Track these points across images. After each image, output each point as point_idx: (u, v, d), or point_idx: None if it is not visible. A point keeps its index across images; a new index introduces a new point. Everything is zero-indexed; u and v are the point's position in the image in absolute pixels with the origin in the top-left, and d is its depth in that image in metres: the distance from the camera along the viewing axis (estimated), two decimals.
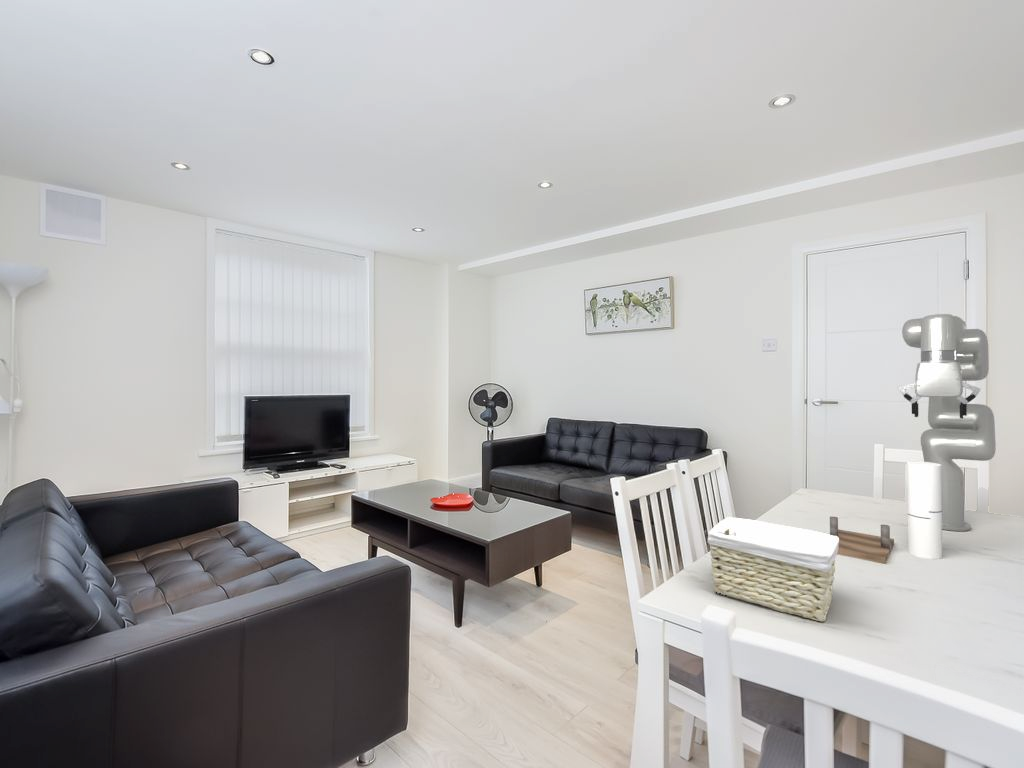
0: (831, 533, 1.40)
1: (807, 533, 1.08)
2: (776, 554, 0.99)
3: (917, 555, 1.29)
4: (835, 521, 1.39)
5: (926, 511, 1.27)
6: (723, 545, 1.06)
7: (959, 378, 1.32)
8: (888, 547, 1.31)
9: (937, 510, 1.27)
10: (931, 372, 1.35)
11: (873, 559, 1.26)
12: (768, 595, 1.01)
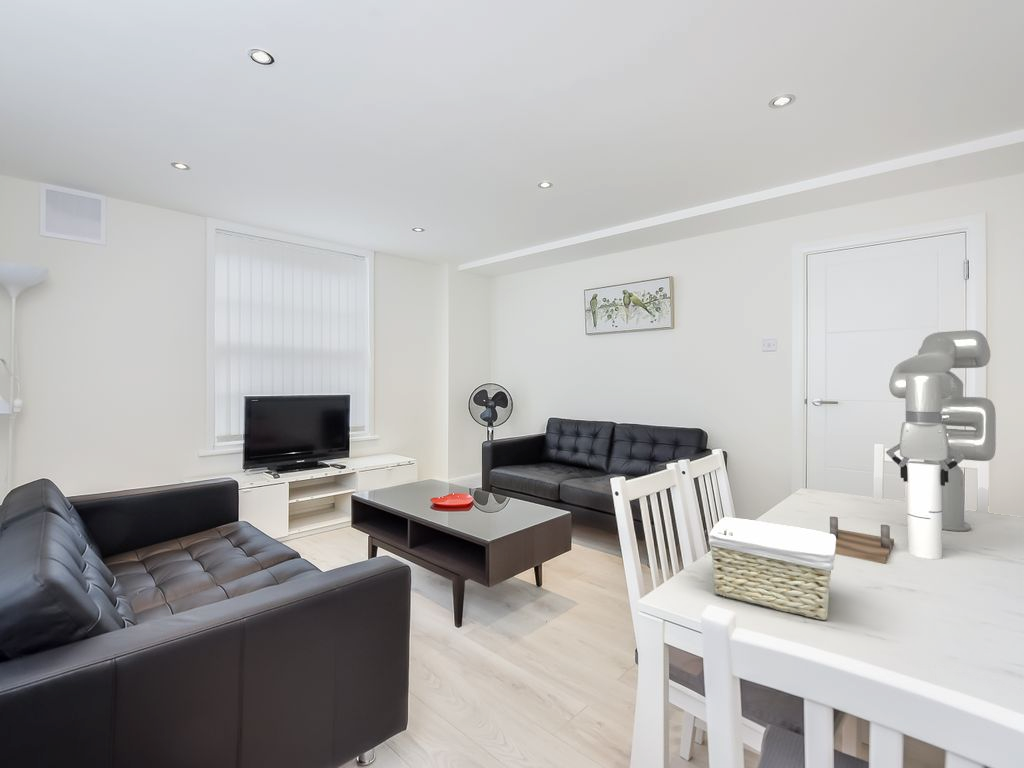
0: (831, 533, 1.40)
1: (804, 532, 1.09)
2: (779, 554, 0.99)
3: (917, 555, 1.29)
4: (835, 521, 1.39)
5: (926, 511, 1.27)
6: (725, 546, 1.05)
7: (945, 442, 1.25)
8: (888, 547, 1.31)
9: (937, 510, 1.27)
10: (916, 434, 1.29)
11: (873, 559, 1.26)
12: (770, 595, 1.01)
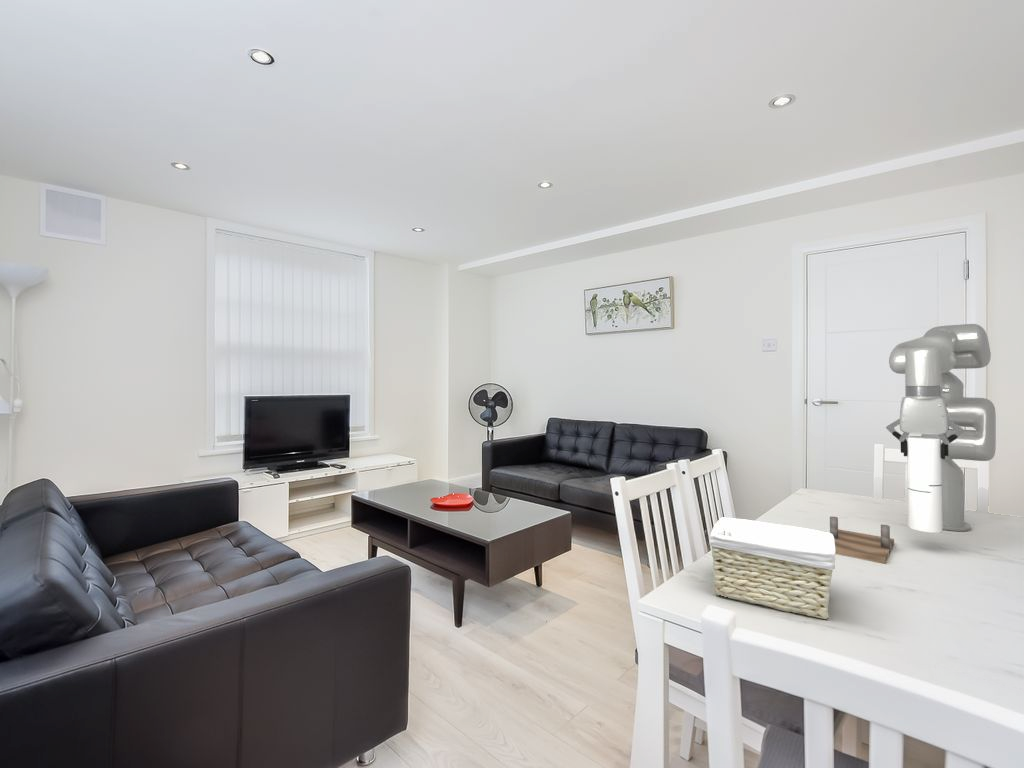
0: (831, 533, 1.40)
1: (801, 531, 1.09)
2: (781, 554, 0.99)
3: (917, 529, 1.29)
4: (835, 521, 1.39)
5: (926, 485, 1.28)
6: (726, 547, 1.04)
7: (945, 415, 1.26)
8: (888, 547, 1.31)
9: (937, 484, 1.27)
10: (916, 408, 1.29)
11: (873, 559, 1.26)
12: (772, 595, 1.01)
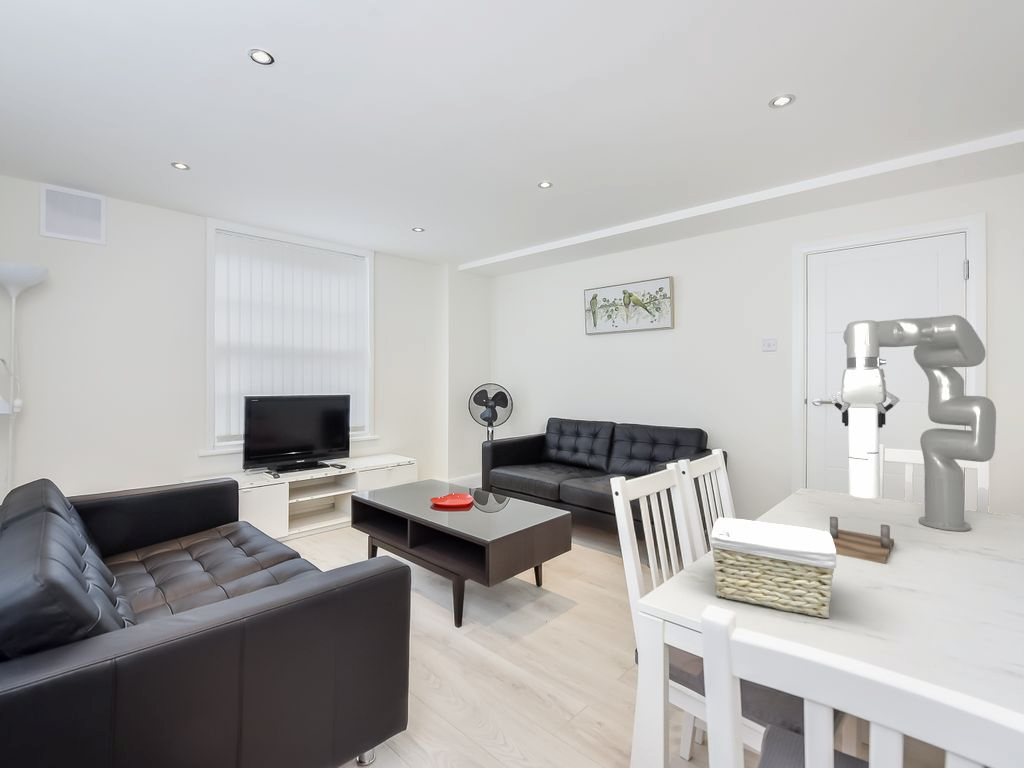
0: (831, 533, 1.40)
1: (799, 530, 1.10)
2: (783, 554, 0.99)
3: (856, 495, 1.34)
4: (835, 521, 1.39)
5: (864, 452, 1.32)
6: (727, 548, 1.04)
7: (882, 385, 1.31)
8: (888, 547, 1.31)
9: (874, 451, 1.32)
10: (855, 379, 1.34)
11: (873, 559, 1.26)
12: (773, 595, 1.01)
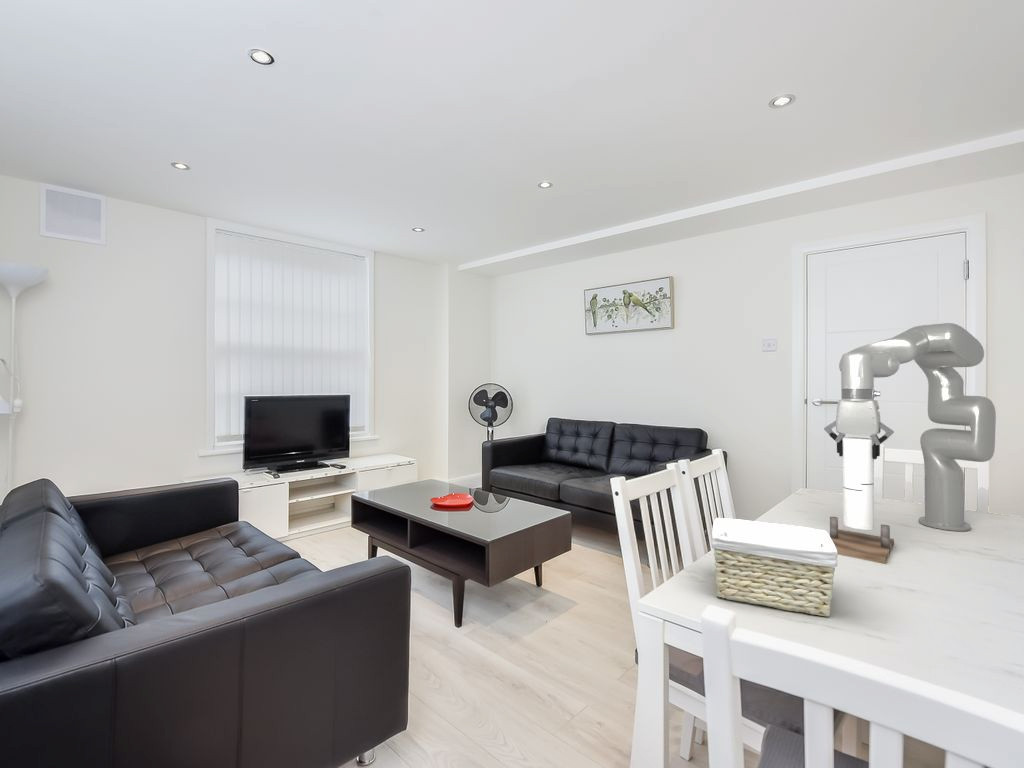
0: (831, 533, 1.40)
1: (796, 529, 1.11)
2: (785, 554, 0.99)
3: (850, 526, 1.35)
4: (835, 521, 1.39)
5: (858, 483, 1.33)
6: (729, 548, 1.03)
7: (876, 417, 1.31)
8: (888, 547, 1.31)
9: (869, 482, 1.33)
10: (850, 410, 1.35)
11: (873, 559, 1.26)
12: (775, 595, 1.01)
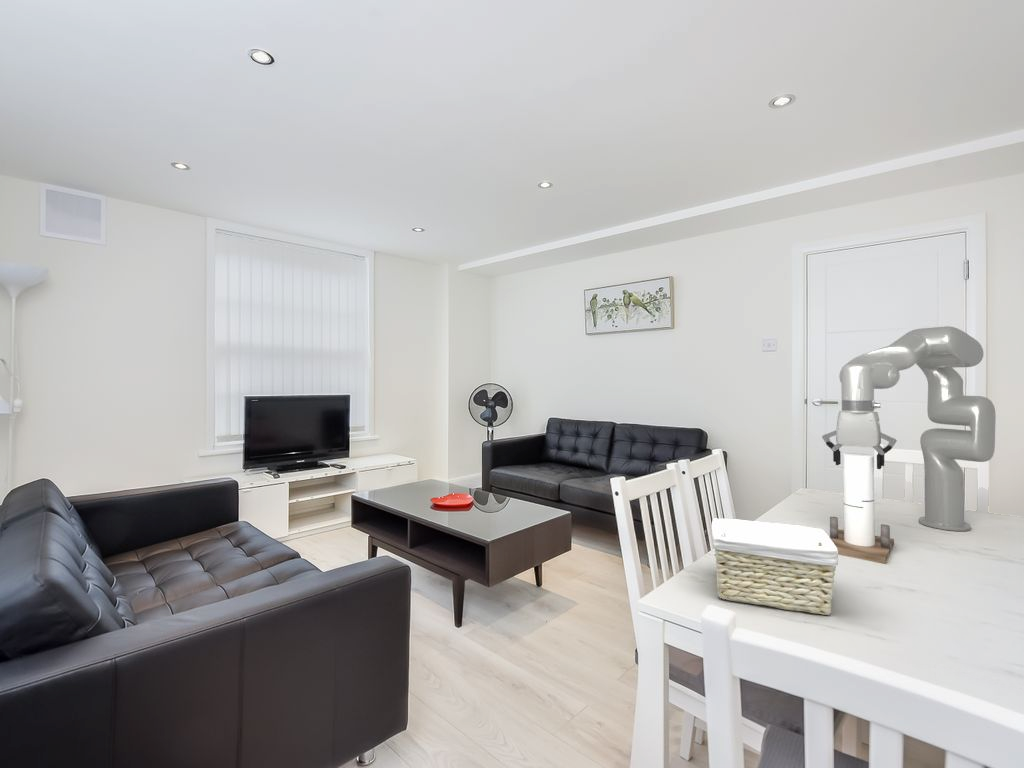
0: (831, 533, 1.40)
1: (793, 528, 1.11)
2: (786, 553, 0.99)
3: (851, 542, 1.35)
4: (835, 521, 1.39)
5: (859, 500, 1.33)
6: (731, 549, 1.03)
7: (876, 429, 1.31)
8: (888, 547, 1.31)
9: (869, 499, 1.33)
10: (850, 422, 1.35)
11: (873, 559, 1.26)
12: (777, 595, 1.01)
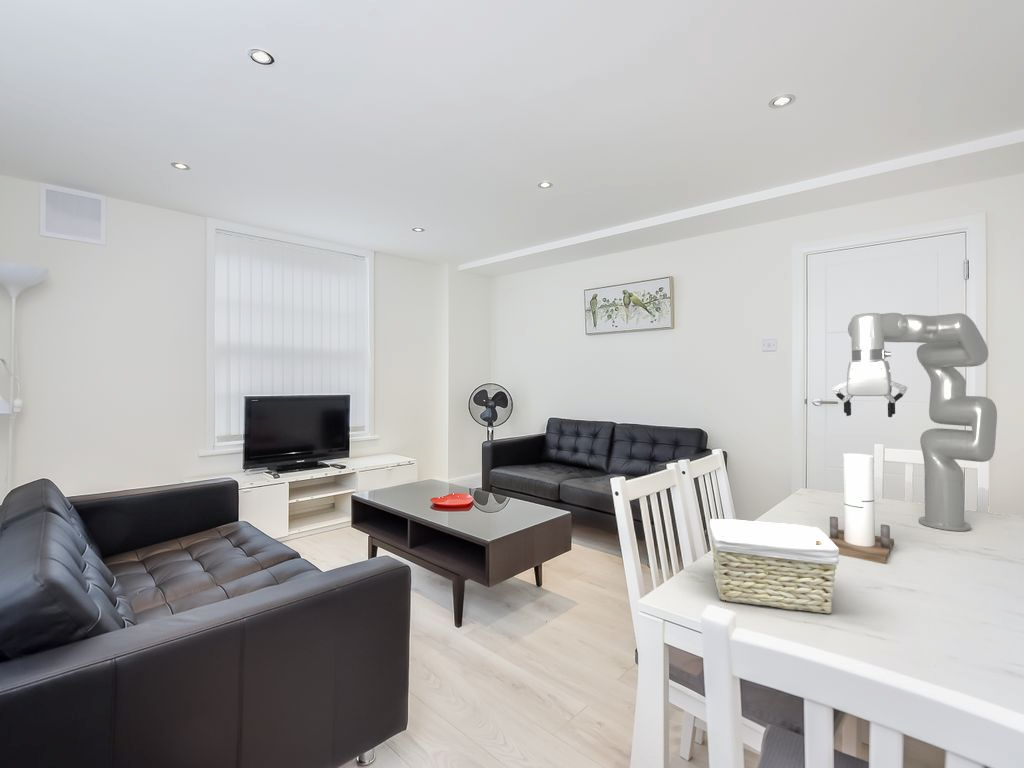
0: (831, 533, 1.40)
1: (789, 527, 1.12)
2: (788, 553, 0.99)
3: (851, 542, 1.35)
4: (835, 521, 1.39)
5: (859, 500, 1.33)
6: (733, 550, 1.02)
7: (887, 377, 1.32)
8: (888, 547, 1.31)
9: (869, 499, 1.33)
10: (861, 372, 1.36)
11: (873, 559, 1.26)
12: (778, 595, 1.01)
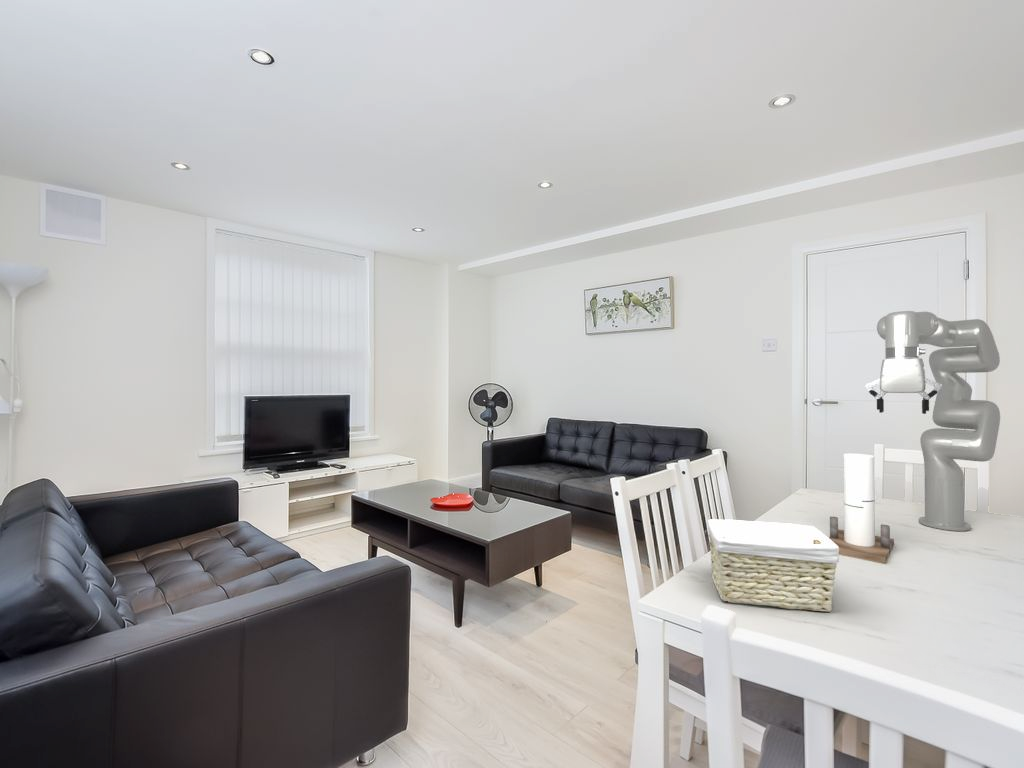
0: (831, 533, 1.40)
1: (786, 526, 1.13)
2: (790, 553, 0.99)
3: (851, 542, 1.35)
4: (835, 521, 1.39)
5: (859, 500, 1.33)
6: (736, 551, 1.02)
7: (921, 374, 1.34)
8: (888, 547, 1.31)
9: (869, 499, 1.33)
10: (895, 369, 1.37)
11: (873, 559, 1.26)
12: (780, 595, 1.01)
